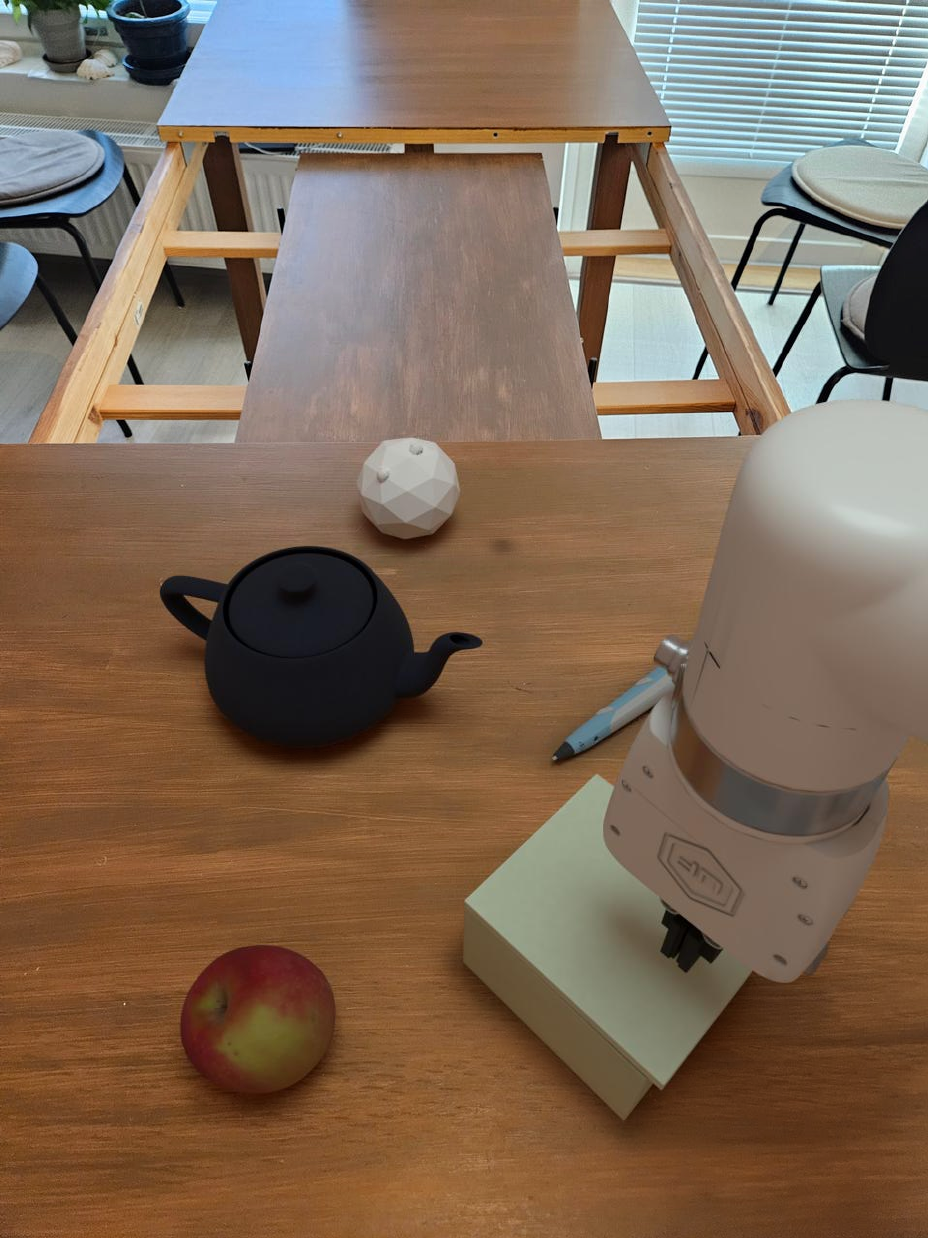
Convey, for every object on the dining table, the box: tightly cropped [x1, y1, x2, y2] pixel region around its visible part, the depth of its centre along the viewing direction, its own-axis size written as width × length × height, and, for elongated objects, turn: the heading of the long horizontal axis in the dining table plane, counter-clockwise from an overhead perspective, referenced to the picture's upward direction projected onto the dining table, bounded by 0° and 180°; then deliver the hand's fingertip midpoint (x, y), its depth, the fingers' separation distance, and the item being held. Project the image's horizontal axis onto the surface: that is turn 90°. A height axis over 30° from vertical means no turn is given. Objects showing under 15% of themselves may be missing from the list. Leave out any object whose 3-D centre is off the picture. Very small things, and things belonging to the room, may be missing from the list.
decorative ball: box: [355, 437, 461, 540], centre depth 80 cm, size 9×10×12 cm
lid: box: [463, 773, 754, 1091], centre depth 49 cm, size 13×12×1 cm
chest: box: [462, 907, 654, 1122], centre depth 52 cm, size 13×12×8 cm
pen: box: [551, 665, 675, 762], centre depth 68 cm, size 19×3×3 cm, turn 128°
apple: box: [179, 944, 337, 1094], centre depth 49 cm, size 8×8×8 cm
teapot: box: [159, 545, 483, 749], centre depth 65 cm, size 25×16×12 cm, turn 73°
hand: (690, 942), depth 46 cm, fingers closed
